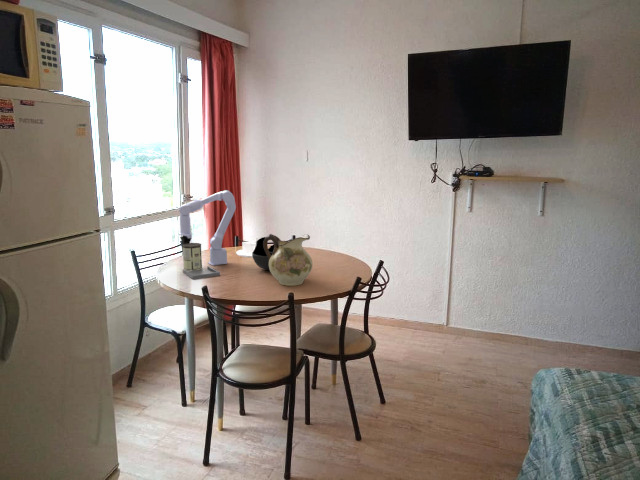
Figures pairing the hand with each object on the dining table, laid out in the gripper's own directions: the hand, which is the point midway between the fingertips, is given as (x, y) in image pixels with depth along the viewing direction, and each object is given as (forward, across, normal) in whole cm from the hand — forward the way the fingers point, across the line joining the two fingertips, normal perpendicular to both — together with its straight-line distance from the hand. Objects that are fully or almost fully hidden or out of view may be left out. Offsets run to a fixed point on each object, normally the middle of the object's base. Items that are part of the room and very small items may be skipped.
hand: (186, 248), depth 266 cm
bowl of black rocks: (+10, +35, +36) cm, 51 cm away
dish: (+10, -8, +48) cm, 50 cm away
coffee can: (+10, +10, 0) cm, 14 cm away
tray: (+10, +23, 0) cm, 25 cm away
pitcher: (+10, +63, +32) cm, 72 cm away
